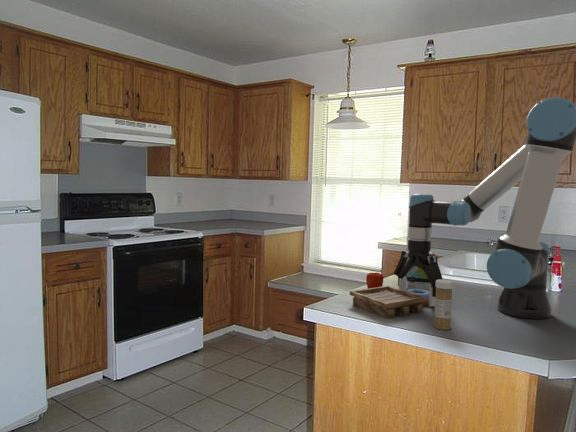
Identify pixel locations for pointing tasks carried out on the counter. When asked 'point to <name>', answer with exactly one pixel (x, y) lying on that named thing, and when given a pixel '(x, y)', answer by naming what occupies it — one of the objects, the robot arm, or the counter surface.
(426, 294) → the doughnut
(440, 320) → the sprinkles bottle
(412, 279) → the tea box
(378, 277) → the red bell pepper
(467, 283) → the counter surface
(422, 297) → the wooden pallet tray
